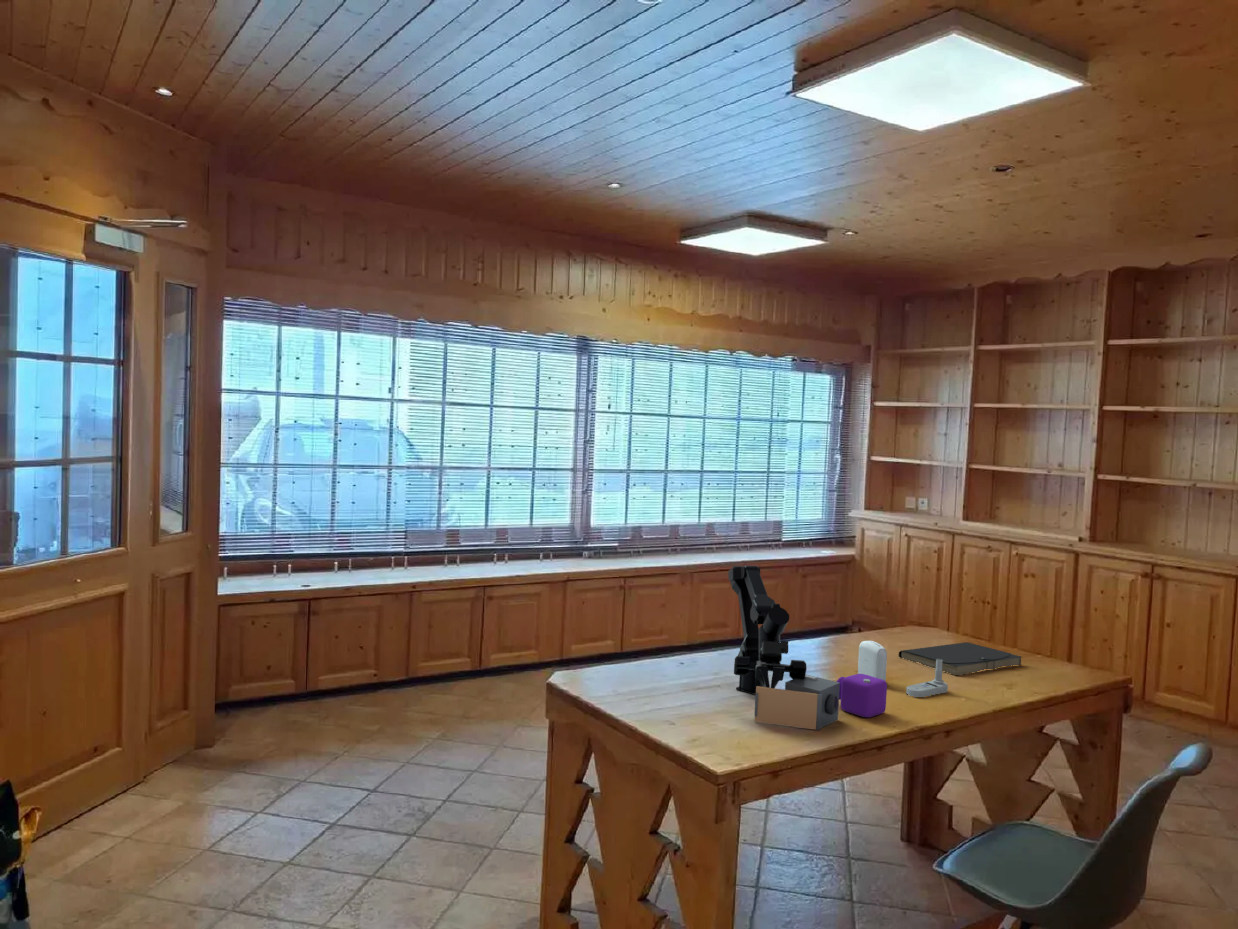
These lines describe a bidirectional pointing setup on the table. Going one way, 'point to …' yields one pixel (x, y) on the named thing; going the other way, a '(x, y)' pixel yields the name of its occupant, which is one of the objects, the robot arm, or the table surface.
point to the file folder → (961, 657)
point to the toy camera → (863, 695)
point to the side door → (788, 707)
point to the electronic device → (929, 684)
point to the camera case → (820, 687)
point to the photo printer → (872, 659)
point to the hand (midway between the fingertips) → (770, 696)
